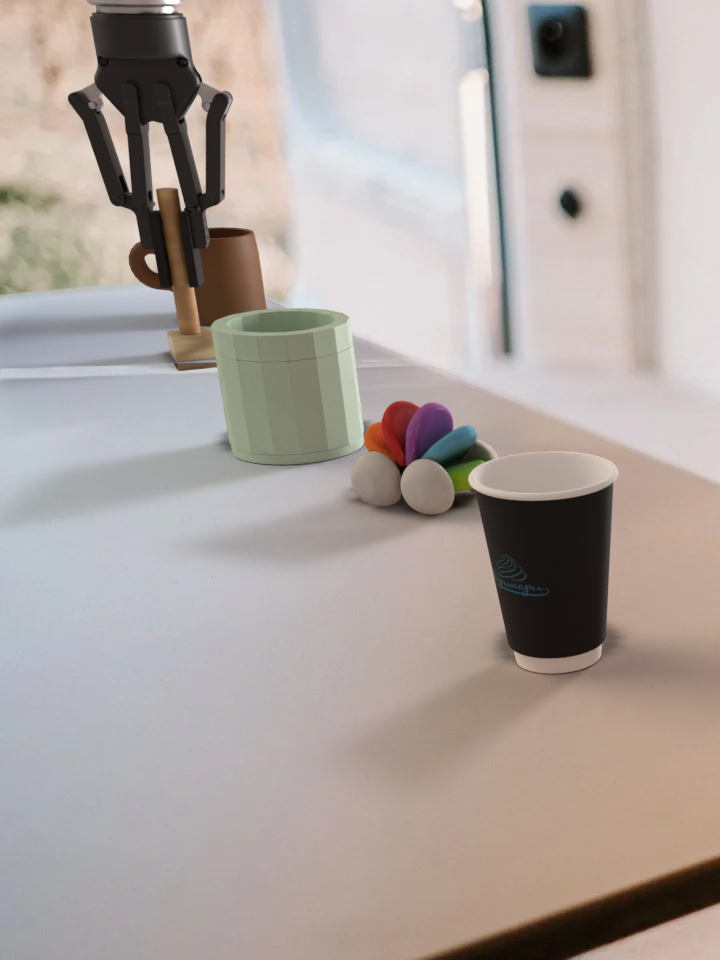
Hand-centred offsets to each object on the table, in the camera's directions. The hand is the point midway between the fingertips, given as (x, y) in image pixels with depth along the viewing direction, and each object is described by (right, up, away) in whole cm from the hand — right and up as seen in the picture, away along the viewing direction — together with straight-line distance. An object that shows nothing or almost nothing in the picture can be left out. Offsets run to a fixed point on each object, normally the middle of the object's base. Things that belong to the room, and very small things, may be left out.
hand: (182, 284), depth 148 cm
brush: (0, -7, +3) cm, 7 cm away
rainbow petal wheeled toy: (+33, -23, -31) cm, 51 cm away
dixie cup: (+49, -34, -56) cm, 81 cm away
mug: (-6, -1, +17) cm, 18 cm away
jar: (+19, -17, -20) cm, 33 cm away
